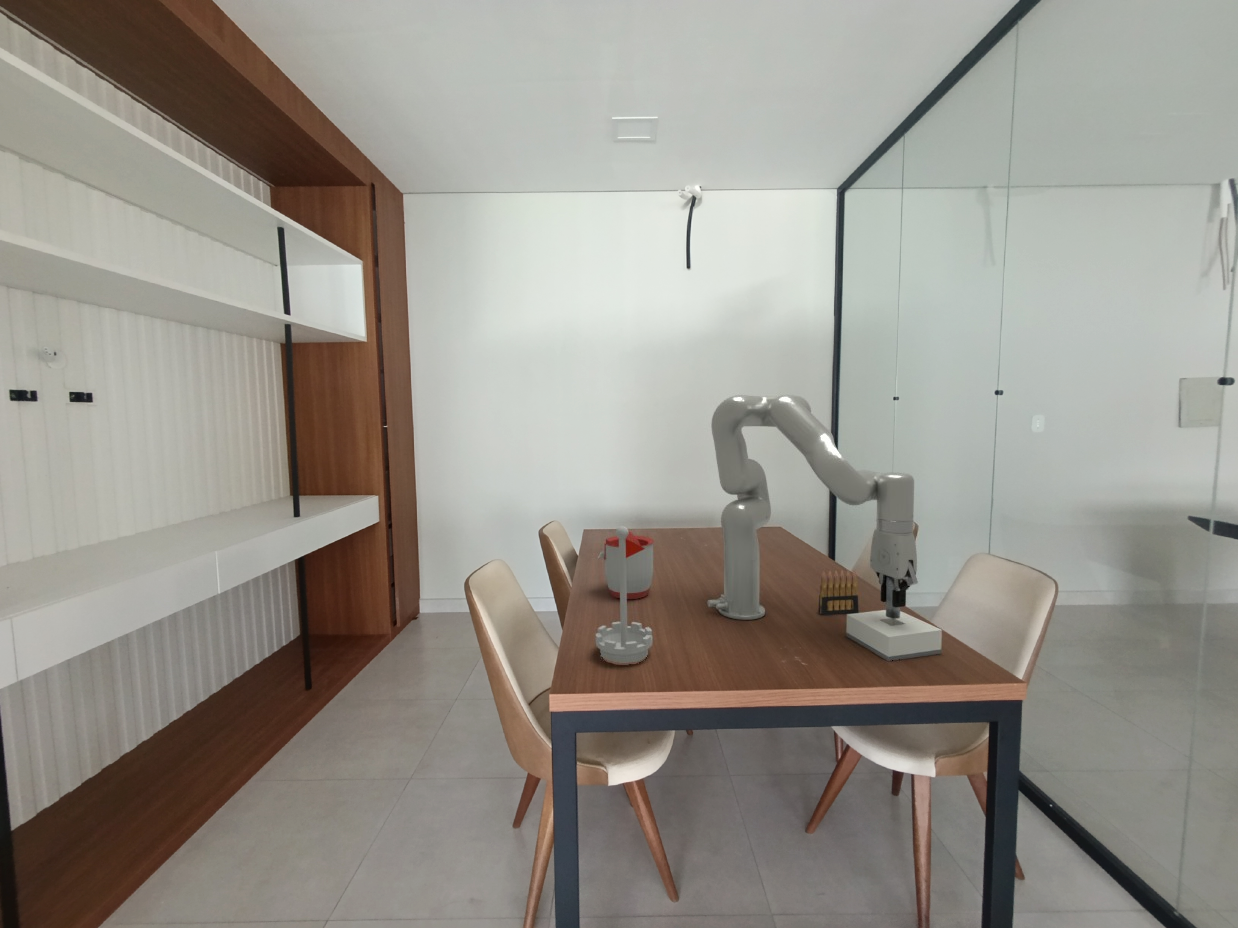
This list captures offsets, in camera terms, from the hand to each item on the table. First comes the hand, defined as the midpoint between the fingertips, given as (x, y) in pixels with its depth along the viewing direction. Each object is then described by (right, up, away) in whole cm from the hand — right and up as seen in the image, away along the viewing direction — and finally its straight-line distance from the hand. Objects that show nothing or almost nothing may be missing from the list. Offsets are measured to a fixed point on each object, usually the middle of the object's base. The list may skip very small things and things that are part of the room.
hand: (893, 603), depth 122 cm
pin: (0, -3, 0) cm, 3 cm away
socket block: (0, -10, +1) cm, 10 cm away
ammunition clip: (-4, -9, +21) cm, 23 cm away
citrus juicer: (-62, -8, +40) cm, 74 cm away
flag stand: (-63, -12, -2) cm, 64 cm away
